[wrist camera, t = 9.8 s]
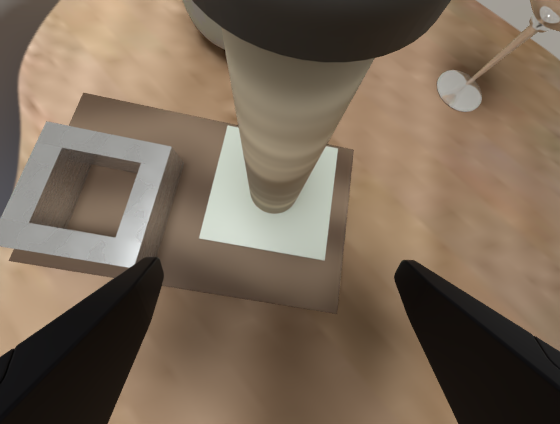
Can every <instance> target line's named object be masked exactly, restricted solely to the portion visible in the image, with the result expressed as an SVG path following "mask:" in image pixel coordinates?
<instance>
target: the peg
mask: <svg viewBox="0 0 560 424" xmlns="http://www.w3.org/2000/svg"><path fill="white" fill-rule="evenodd" d="M192 1H193V2H194V3H195V4H196V5H197V6H198V7H199V8H200V9H201V10H202V11H203V12H204V13H205V14H206V15H207V16H208V17H209V18H210V19H212V20H213V21H214V22H216V23H217V24H218V25H219V26H221V29H222V35H223V41H224V47H225V52H226V58H227V64H228V69H229V75H230V81H231V87H232V92H233V98H234V104H235V110H236V115H237V121H238V127H239V132H240V138H241V144H242V150H243V155H244V161H245V167H246V173H247V178H248V184H249V190H250V195H251V198H252V201H253V202H254V204H255V205H256V206H257V207H258V208H259V209H261V210H262V211H264V212H267V213H271V214H277V213H282V212H284V211H287V210H288V209H289V208H291V207H292V206H293V204H294V203H295V201H296V199H297V198H298V196H299V194H300V192H301V190H302V189H303V187H304V185H305V183H306V181H307V179H308V178H309V176H310V174H311V172H312V170H313V169H314V167H315V165H316V163H317V161H318V160H319V158H320V156H321V154H322V152H323V151H324V149H325V147H326V145H327V143H328V142H329V140H330V138H331V136H332V134H333V132H334V131H335V129H336V127H337V125H338V123H339V122H340V120H341V118H342V116H343V114H344V113H345V111H346V109H347V107H348V105H349V104H350V102H351V100H352V98H353V96H354V95H355V93H356V91H357V89H358V87H359V85H360V84H361V82H362V80H363V78H364V76H365V75H366V73H367V71H368V69H369V67H370V66H371V64H372V62H373V60H374V58H376V57H380V56H384V55H387V54H389V53H392V52H395V51H397V50H400V49H402V48H403V47H405V46H407V45H409V44H411V43H412V42H414V41H415V40H417V39H418V38H419V37H420V36H422V35H423V34H424V33H426V32H427V31H428V29H429V28H430V27H431V26H432V25H433V24H434V23H435V22H436V20H437V19H438V18H439V16H440V15H441V13H442V12H443V11H444V9H445V8H446V7H447V5H448V4H449V2H450V1H451V0H192Z"/></svg>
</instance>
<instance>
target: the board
mask: <svg viewBox="0 0 560 424" xmlns="http://www.w3.org/2000/svg"><path fill="white" fill-rule="evenodd" d="M228 125H229V126H233V127H238V125H234V124H229V123H225V122H220V121H215V120H210V119H206V118H201V117H196V116H191V115H187V114H182V113H177V112H172V111H168V110H163V109H158V108H153V107H149V106H144V105H139V104H134V103H130V102H125V101H120V100H115V99H111V98H106V97H101V96H97V95H92V94H87V93H83V95H82V97H81V99H80V102H79V104H78V106H77V108H76V111H75V113H74V115H73V117H72V120H71V122H70V124H69V126H72V127H77V128H82V129H87V130H92V131H97V132H102V133H107V134H112V135H117V136H122V137H127V138H132V139H137V140H141V141H146V142H151V143H156V144H161V145H166V146H171V147H172V148H173V149H174V150H175V152H176V153H177V154H178V156H179V157H180V158H181V159H182V161H183V162H184V166H183V169H182V172H181V176H180V179H179V183H178V186H177V189H176V193H175V196H174V200H173V203H172V207H171V210H170V213H169V217H168V220H167V224H166V227H165V230H164V234H163V237H162V241H161V244H160V247H159V251H158V254H157V257H159V259H160V261H161V265H162V268H163V271H164V280H163V283H162V286H167V287H174V288H180V289H186V290H192V291H198V292H204V293H211V294H217V295H223V296H229V297H235V298H242V299H248V300H254V301H260V302H266V303H272V304H279V305H285V306H291V307H297V308H303V309H310V310H316V311H322V312H328V313H334V314H337V310H338V300H339V291H340V281H341V271H342V261H343V251H344V241H345V231H346V221H347V211H348V201H349V191H350V181H351V171H352V162H353V152H354V150H353V149H348V148H343V147H338V146H334V145H329V144H327V145H326V146H329V147H333V148H338V153H337V161H336V170H335V178H334V187H333V195H332V203H331V212H330V220H329V229H328V237H327V245H326V254H325V260H317V259H312V258H306V257H300V256H295V255H289V254H283V253H278V252H272V251H266V250H261V249H255V248H249V247H244V246H238V245H232V244H227V243H221V242H215V241H210V240H204V239H200V238H199V236H200V232H201V228H202V224H203V220H204V216H205V212H206V209H207V205H208V201H209V197H210V193H211V189H212V185H213V181H214V177H215V173H216V169H217V165H218V161H219V157H220V153H221V150H222V146H223V142H224V138H225V134H226V130H227V126H228ZM238 128H239V127H238ZM136 176H137V173H133V172H128V171H123V170H117V169H112V168H107V167H102V166H97V165H91V168H90V170H89V173H88V176H87V178H86V181H85V183H84V186H83V188H82V191H81V193H80V196H79V198H78V201H77V203H76V206H75V208H74V211H73V213H72V216H71V218H70V221H69V223H68V226H67V228H66V229H70V230H76V231H82V232H88V233H94V234H99V235H105V236H111V237H116V235H117V232H118V229H119V226H120V223H121V220H122V217H123V214H124V211H125V208H126V206H127V203H128V200H129V197H130V194H131V191H132V188H133V185H134V182H135V179H136ZM9 261H13V262H19V263H25V264H31V265H38V266H44V267H50V268H56V269H62V270H68V271H75V272H81V273H87V274H93V275H99V276H106V277H112V278H115V277H117V276H118V275H120V274H121V273H123V272H124V271H125V270H127V269H128V267H122V266H116V265H110V264H104V263H98V262H92V261H86V260H80V259H74V258H68V257H62V256H56V255H50V254H44V253H38V252H32V251H26V250H20V249H14V250H13V252H12V255H11V257H10V259H9Z"/></svg>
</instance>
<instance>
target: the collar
mask: <svg viewBox="0 0 560 424" xmlns="http://www.w3.org/2000/svg"><path fill="white" fill-rule="evenodd" d="M91 165H97V166H102V167H107V168H112V169H117V170H123V171H128V172H133V173H137V176H136V179H135V182H134V185H133V188H132V191H131V194H130V197H129V200H128V203H127V206H126V208H125V211H124V214H123V217H122V220H121V223H120V226H119V229H118V232H117V235H116V237H111V236H105V235H99V234H94V233H88V232H82V231H76V230H70V229H66V228H67V226H68V223H69V221H70V218H71V216H72V213H73V211H74V208H75V206H76V203H77V201H78V198H79V196H80V193H81V191H82V188H83V186H84V183H85V181H86V178H87V176H88V173H89V170H90V168H91ZM183 166H184V162H183V161H182V159H181V158H180V157H179V156H178V154H177V153H176V152H175V150H174V149H173V148H172V147H171V146H166V145H161V144H156V143H151V142H146V141H141V140H137V139H132V138H127V137H122V136H117V135H112V134H107V133H102V132H97V131H92V130H87V129H82V128H77V127H72V126H67V125H62V124H57V123H52V122H47V121H46V124H45V126H44V128H43V130H42V132H41V134H40V136H39V138H38V140H37V143H36V145H35V147H34V149H33V151H32V153H31V155H30V157H29V159H28V162H27V164H26V166H25V168H24V170H23V172H22V174H21V176H20V179H19V181H18V183H17V185H16V187H15V189H14V191H13V193H12V195H11V198H10V200H9V202H8V204H7V206H6V208H5V210H4V212H3V214H2V217H1V219H0V246H1V247H7V248H14V249H20V250H26V251H32V252H38V253H44V254H50V255H56V256H62V257H68V258H74V259H80V260H86V261H92V262H98V263H104V264H110V265H116V266H122V267H128V268H130V267H131V266H133V265H134V264H136V263H137V262H138V261H140V260H141V259H143V258H144V257H157V254H158V251H159V247H160V244H161V241H162V237H163V234H164V230H165V227H166V224H167V220H168V217H169V213H170V210H171V207H172V203H173V200H174V196H175V193H176V189H177V186H178V183H179V179H180V176H181V172H182V169H183Z"/></svg>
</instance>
